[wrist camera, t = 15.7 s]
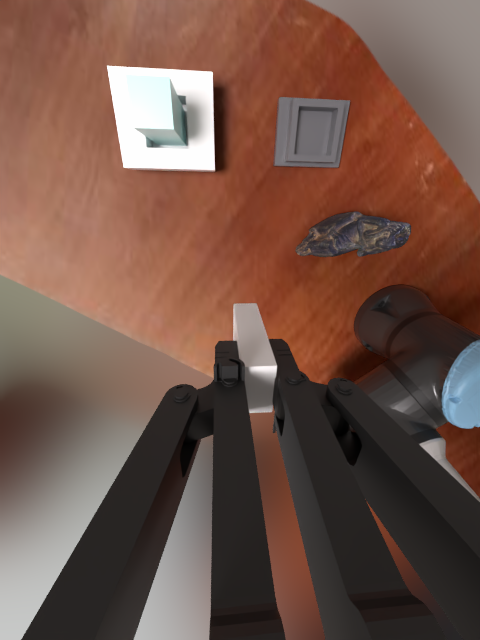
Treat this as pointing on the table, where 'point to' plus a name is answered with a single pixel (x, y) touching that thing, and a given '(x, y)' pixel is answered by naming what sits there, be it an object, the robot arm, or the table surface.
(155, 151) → the port
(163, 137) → the plug
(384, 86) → the table surface
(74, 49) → the table surface
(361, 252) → the carved stone figurine
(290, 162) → the grey socket
